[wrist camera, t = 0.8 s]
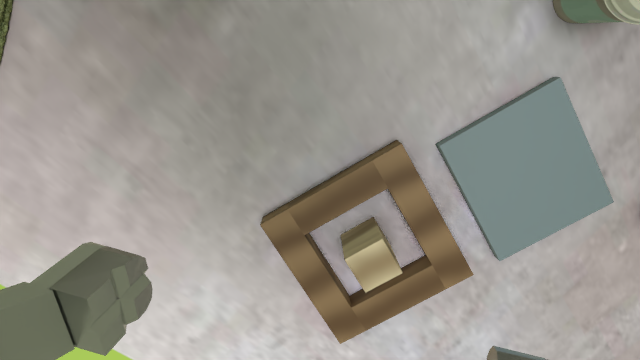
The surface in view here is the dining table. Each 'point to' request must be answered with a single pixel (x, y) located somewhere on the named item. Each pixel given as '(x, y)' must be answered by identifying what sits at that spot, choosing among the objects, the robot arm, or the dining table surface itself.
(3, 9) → the washcloth
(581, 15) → the coffee cup
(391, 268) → the maple peg
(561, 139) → the slate pad
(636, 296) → the dining table surface
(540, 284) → the dining table surface
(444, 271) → the pocket block
